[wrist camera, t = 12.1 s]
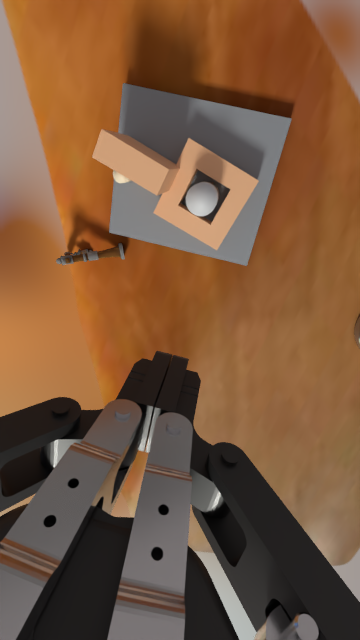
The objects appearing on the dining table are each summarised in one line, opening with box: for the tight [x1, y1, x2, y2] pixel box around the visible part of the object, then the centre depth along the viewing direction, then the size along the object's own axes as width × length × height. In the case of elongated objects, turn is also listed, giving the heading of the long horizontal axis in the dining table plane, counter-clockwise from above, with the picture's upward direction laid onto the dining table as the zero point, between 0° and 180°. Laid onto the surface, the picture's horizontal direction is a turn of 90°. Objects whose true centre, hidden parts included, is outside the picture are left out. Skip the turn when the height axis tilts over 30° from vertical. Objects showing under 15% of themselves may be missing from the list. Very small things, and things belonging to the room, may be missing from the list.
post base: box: [109, 83, 291, 266], centre depth 33 cm, size 17×15×6 cm
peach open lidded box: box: [92, 129, 259, 250], centre depth 31 cm, size 14×8×8 cm, turn 62°
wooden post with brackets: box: [56, 243, 125, 265], centre depth 41 cm, size 2×8×4 cm, turn 96°
